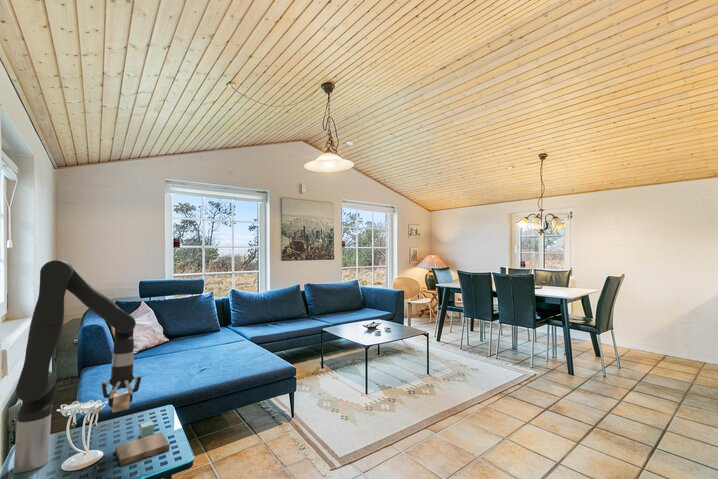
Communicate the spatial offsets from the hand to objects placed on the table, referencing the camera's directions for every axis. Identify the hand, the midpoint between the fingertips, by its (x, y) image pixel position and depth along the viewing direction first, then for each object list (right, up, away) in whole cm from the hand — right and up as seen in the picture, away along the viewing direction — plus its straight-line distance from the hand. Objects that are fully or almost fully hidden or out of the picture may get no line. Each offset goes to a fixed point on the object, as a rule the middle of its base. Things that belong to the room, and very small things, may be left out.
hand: (120, 404), depth 142 cm
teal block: (+7, -16, +6) cm, 18 cm away
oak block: (0, -1, 0) cm, 1 cm away
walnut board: (+13, -15, -7) cm, 21 cm away
